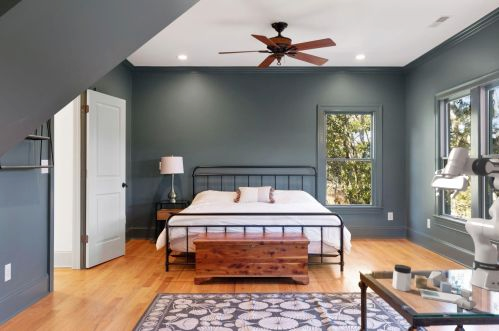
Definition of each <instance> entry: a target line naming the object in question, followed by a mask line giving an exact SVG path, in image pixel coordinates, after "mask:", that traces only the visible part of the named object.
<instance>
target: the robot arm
mask: <svg viewBox="0 0 499 331" xmlns="http://www.w3.org/2000/svg"><path fill="white" fill-rule="evenodd" d="M434 174H435V175H434V176H433V178H432V180H431V182H430V187H431V188H433V189H435V196H436V197H441V193H440V192H441V190H443V191H444V190H445V191H453V194H451V195H450V198H451V199H456V198H457V196H458V195H459V194H460V192H463V193H464V192H467V191H468V187H469V181H470V176H475V177H476V176H477V177H478V176H479V177H488V179H487V181H488V182H487V184H488V185H489V187H490V189H493V190H496V191H499V158H487V157H479V158H478V157H470V156H469V149H468V148H467V147H465V146H454V147H452V149H451V150H450V153H449V155H448V158H447V163H446V165H445V167H444V168H442V169H438V170H435V173H434ZM488 215H490V217H491V219H488V218H481V217H471V218H468V219H467V221H466V222H465V225H464V227H465V230H466V232H467V233H468V234H469V235H470V236H471V237H470V238H471V239H472V240H473V244H474V259H473V262H472V269H473V270H472V273H471V278H470V280H469V284H471V285H472V286H475V287H477V288H482V289H484V290H487V291H490V292H491V291H493V292H499V264H498V253H499V251H498V248H496V247H495V246H494V245H493V244H492V243H491V241H490V240H494V241H499V196H498V197H497V198H496V199H495V201H494V202H493V203H492V204H491V206H490V207H489V208H488Z"/></svg>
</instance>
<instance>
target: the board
mask: <svg viewBox="0 0 499 331" xmlns="http://www.w3.org/2000/svg"><path fill="white" fill-rule="evenodd" d="M418 292H419V294H420V296H421V297H422V299H426V300H432V301H439V302H445V303H452V304H456V300H457V299H460V298H463V297H462V296H463V295H461V294H456V293H455V294H453V293H451V294H449V293H443V292H441V291H435V290H431V289H430V290H429V289H423V288H418Z"/></svg>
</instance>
